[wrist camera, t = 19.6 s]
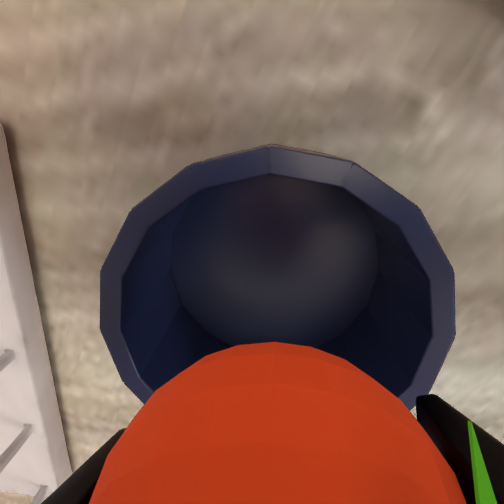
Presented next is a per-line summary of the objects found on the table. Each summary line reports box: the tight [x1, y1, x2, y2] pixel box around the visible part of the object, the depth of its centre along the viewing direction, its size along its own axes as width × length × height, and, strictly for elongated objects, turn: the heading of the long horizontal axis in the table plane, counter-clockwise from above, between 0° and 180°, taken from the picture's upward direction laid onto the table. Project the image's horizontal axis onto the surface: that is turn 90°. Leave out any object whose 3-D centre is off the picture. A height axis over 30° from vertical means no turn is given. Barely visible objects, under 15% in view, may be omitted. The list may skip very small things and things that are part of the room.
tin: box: [100, 144, 456, 411], centre depth 14 cm, size 13×13×6 cm
